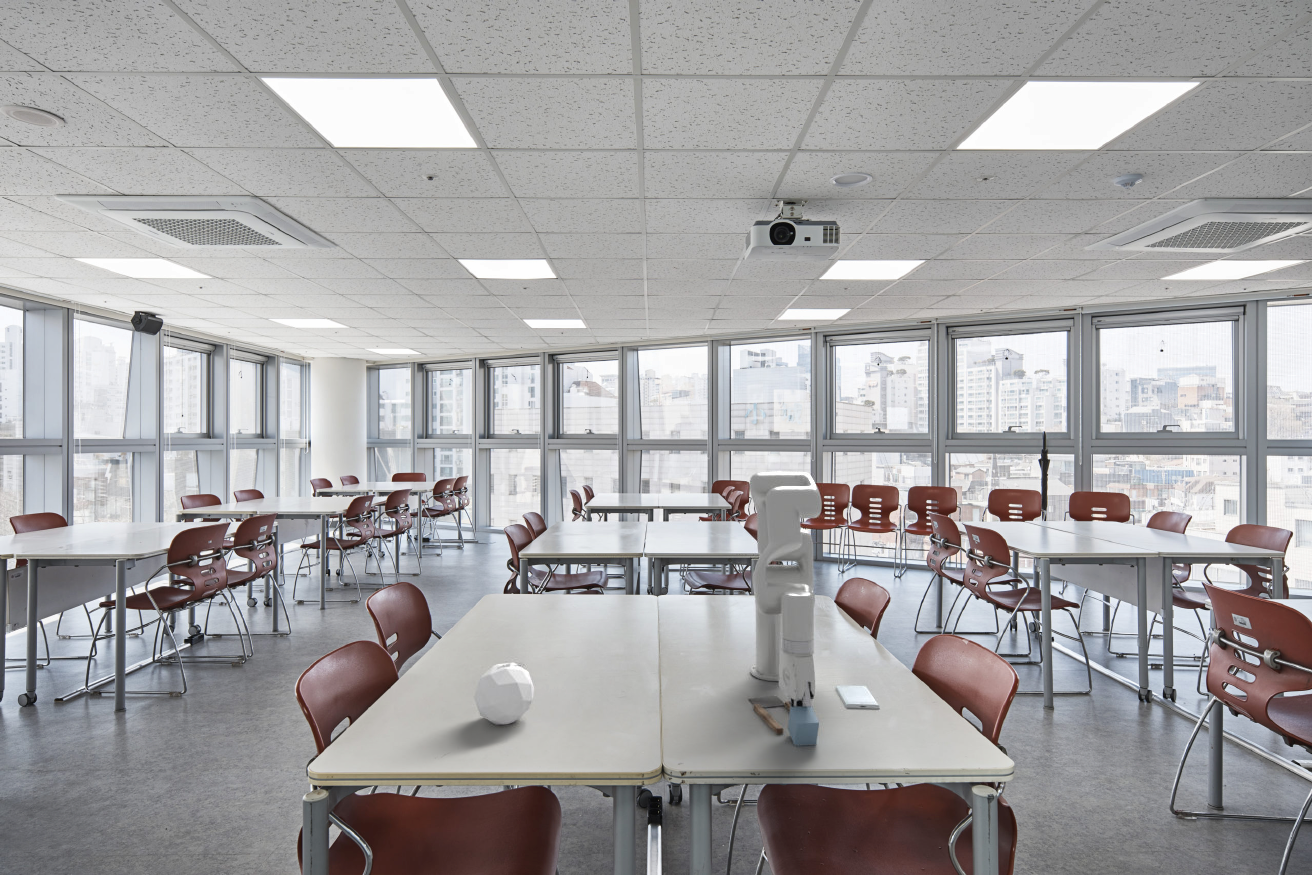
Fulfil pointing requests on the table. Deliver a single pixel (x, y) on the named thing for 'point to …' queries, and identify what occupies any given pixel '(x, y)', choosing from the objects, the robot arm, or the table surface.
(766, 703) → the guide channel
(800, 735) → the block
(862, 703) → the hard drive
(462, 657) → the table surface
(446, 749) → the table surface
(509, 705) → the geodesic sphere
